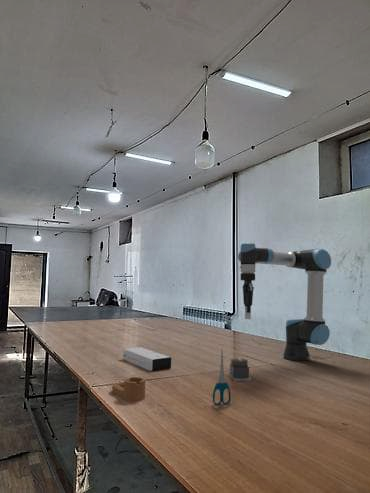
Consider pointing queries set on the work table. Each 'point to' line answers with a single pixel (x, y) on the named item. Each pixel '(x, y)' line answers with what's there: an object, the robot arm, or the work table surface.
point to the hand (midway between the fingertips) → (247, 319)
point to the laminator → (146, 358)
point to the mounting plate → (239, 378)
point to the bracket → (130, 389)
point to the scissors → (221, 385)
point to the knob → (239, 367)
